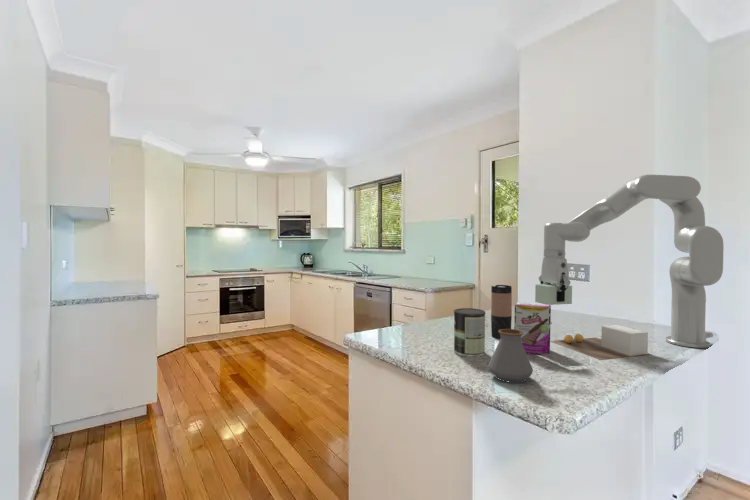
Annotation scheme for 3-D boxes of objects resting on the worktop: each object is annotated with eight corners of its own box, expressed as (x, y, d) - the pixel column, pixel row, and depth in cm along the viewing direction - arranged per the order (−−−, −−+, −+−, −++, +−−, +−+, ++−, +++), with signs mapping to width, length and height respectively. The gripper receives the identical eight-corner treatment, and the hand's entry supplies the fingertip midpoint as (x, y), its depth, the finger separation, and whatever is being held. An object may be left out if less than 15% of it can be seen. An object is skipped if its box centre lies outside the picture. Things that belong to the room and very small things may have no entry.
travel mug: (512, 339, 142) (513, 287, 141) (491, 338, 143) (492, 286, 143) (509, 334, 149) (510, 285, 149) (489, 334, 151) (490, 284, 150)
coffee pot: (511, 389, 95) (511, 330, 95) (479, 374, 105) (479, 321, 105) (566, 375, 105) (566, 321, 104) (532, 363, 115) (532, 314, 115)
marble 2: (579, 341, 136) (579, 332, 136) (585, 343, 133) (585, 334, 133) (572, 341, 136) (572, 333, 136) (578, 343, 133) (578, 335, 133)
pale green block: (558, 300, 151) (558, 283, 151) (571, 303, 144) (572, 285, 144) (535, 302, 148) (535, 284, 148) (547, 304, 141) (547, 286, 141)
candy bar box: (513, 352, 126) (514, 304, 125) (514, 348, 130) (515, 302, 130) (550, 357, 121) (550, 306, 121) (550, 352, 125) (550, 304, 125)
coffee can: (449, 354, 125) (449, 311, 124) (459, 346, 133) (459, 307, 133) (480, 358, 119) (480, 315, 119) (488, 350, 128) (488, 309, 128)
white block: (601, 346, 130) (601, 326, 129) (617, 344, 131) (617, 324, 131) (630, 355, 119) (630, 333, 119) (647, 353, 121) (647, 332, 121)
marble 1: (568, 341, 135) (569, 333, 135) (575, 344, 132) (575, 335, 132) (561, 342, 134) (562, 334, 134) (568, 344, 132) (568, 336, 131)
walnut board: (595, 340, 141) (595, 337, 141) (652, 357, 120) (652, 354, 120) (549, 343, 136) (549, 341, 136) (600, 363, 115) (600, 359, 115)
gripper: (579, 255, 138) (578, 303, 139) (546, 253, 155) (546, 296, 156) (562, 255, 136) (561, 304, 137) (531, 253, 153) (530, 297, 154)
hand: (553, 299), depth 146 cm, fingers closed on pale green block, 7 cm apart
